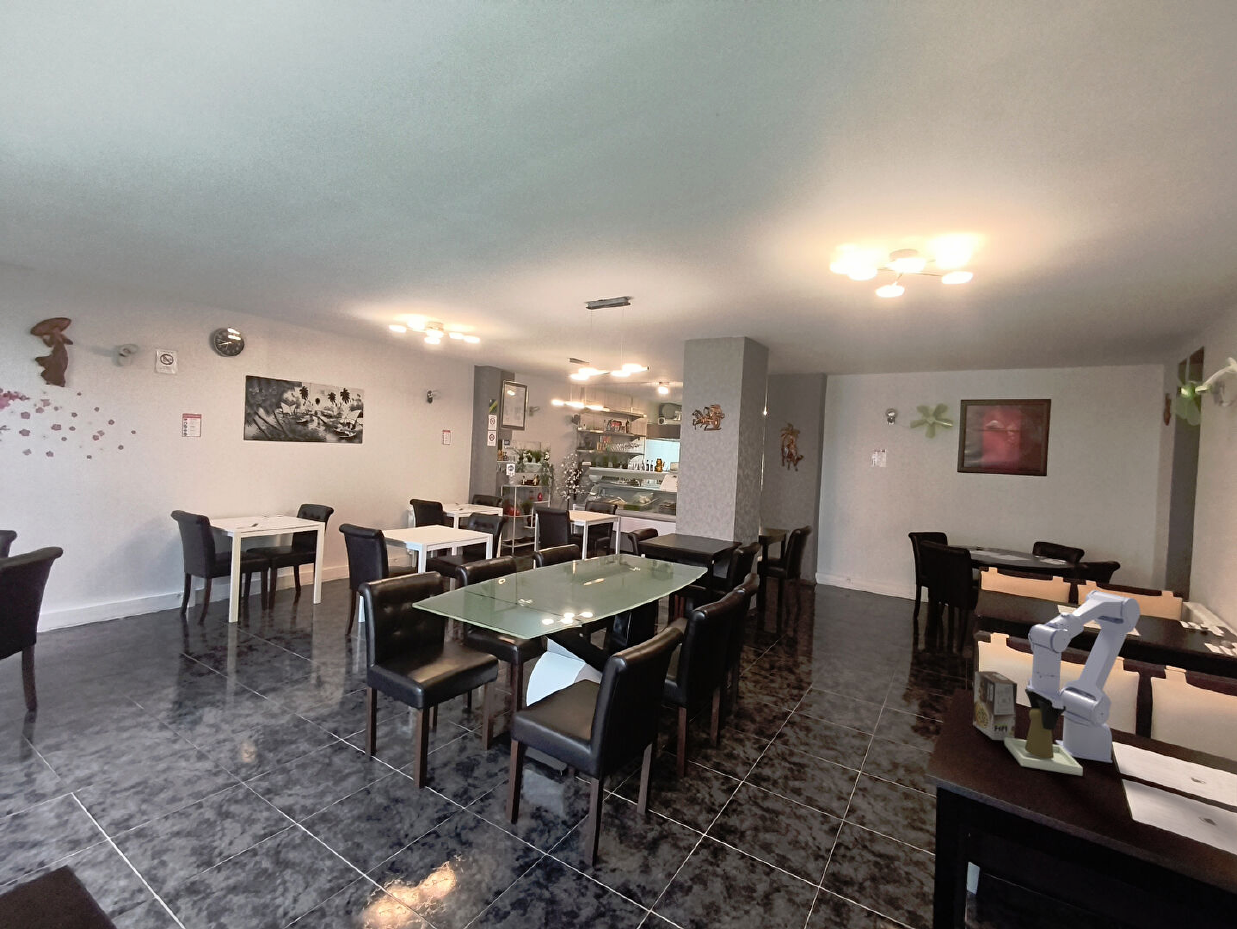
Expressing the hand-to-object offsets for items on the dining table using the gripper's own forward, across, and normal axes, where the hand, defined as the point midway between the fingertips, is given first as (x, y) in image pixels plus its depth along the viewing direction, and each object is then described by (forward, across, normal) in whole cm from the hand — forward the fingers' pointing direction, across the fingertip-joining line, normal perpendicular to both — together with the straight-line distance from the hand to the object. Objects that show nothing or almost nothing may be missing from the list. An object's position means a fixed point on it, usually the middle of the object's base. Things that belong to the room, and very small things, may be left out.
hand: (1043, 723), depth 143 cm
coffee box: (+10, -12, -7) cm, 17 cm away
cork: (+8, 0, -1) cm, 8 cm away
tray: (+9, 0, 0) cm, 9 cm away
